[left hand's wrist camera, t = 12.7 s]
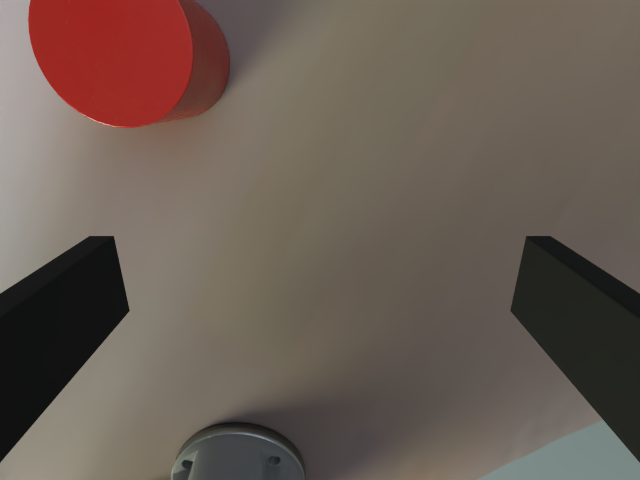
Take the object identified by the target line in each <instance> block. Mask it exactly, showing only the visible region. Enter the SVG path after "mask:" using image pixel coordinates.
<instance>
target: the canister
mask: <svg viewBox="0 0 640 480" xmlns="http://www.w3.org/2000/svg"><path fill="white" fill-rule="evenodd" d="M28 22H29V34H30V40H31V45H32V48H33V52H34V55H35V57H36V60H37V62H38V65H39V67H40V69H41V70H42V72H43V74H44V76H45V78H46V79H47V81H48V82H49V83H50V85H51V86H52V88H53V89H54V90H55V91H56V92H57V94H58V95H59V96H60V97H61V98H62V99H63V100H64V101H65V102H66V103H67V104H69V105H70V106H71V107H72V108H74V109H75V110H76V111H78V112H79V113H81V114H83V115H84V116H86V117H88V118H90V119H92V120H94V121H96V122H99V123H102V124H105V125H109V126H114V127H122V128H132V127H140V126H145V125H151V124H156V123H161V122H167V121H172V120H177V119H183V118H188V117H193V116H196V115H199V114H201V113H203V112H205V111H206V110H208V109H209V108H210V107H212V106H213V105H214V104H215V103H216V102H217V100H218V99H219V98H220V96H221V95H222V93H223V91H224V89H225V86H226V84H227V81H228V76H229V69H230V58H229V51H228V47H227V43H226V40H225V37H224V35H223V33H222V31H221V29H220V27H219V25H218V24H217V22H216V21H215V19H214V18H213V17H212V16H211V15H210V13H208V12H207V11H206V10H205V9H204V8H203V7H202V6H201V5H199V4H198V3H197V2H195V1H194V0H31V1H30V6H29V17H28Z"/></svg>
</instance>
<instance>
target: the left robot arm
mask: <svg viewBox="0 0 640 480" xmlns="http://www.w3.org/2000/svg"><path fill="white" fill-rule="evenodd" d="M129 311H130V310H129V306H128V301H127V296H126V292H125V287H124V282H123V278H122V273H121V268H120V264H119V259H118V254H117V250H116V245H115V240H114V236H89V237H88V238H86V239H84V240H83V241H81V242H80V243H78V244H77V245H75V246H74V247H72V248H70V249H69V250H67V251H66V252H64V253H63V254H61V255H60V256H58V257H57V258H55V259H53V260H52V261H50V262H49V263H47V264H46V265H44V266H43V267H41V268H39V269H38V270H36V271H35V272H33V273H32V274H30V275H29V276H27V277H26V278H24V279H22V280H21V281H19V282H18V283H16V284H15V285H13V286H12V287H10V288H8V289H7V290H5V291H4V292H2V293H1V294H0V462H1V461H2V460H3V459H4V457H5V456H6V455H7V454H8V453H9V452H10V450H11V449H12V448H13V447H14V446H15V445H16V443H17V442H18V441H19V440H20V439H21V437H22V436H23V435H24V434H25V433H26V432H27V430H28V429H29V428H30V427H31V426H32V425H33V423H34V422H35V421H36V420H37V419H38V418H39V416H40V415H41V414H42V413H43V412H44V411H45V409H46V408H47V407H48V406H49V405H50V404H51V402H52V401H53V400H54V399H55V398H56V396H57V395H58V394H59V393H60V392H61V391H62V389H63V388H64V387H65V386H66V385H67V384H68V382H69V381H70V380H71V379H72V378H73V377H74V375H75V374H76V373H77V372H78V371H79V370H80V368H81V367H82V366H83V365H84V364H85V362H86V361H87V360H88V359H89V358H90V357H91V355H92V354H93V353H94V352H95V351H96V350H97V348H98V347H99V346H100V345H101V344H102V343H103V341H104V340H105V339H106V338H107V337H108V336H109V334H110V333H111V332H112V331H113V330H114V328H115V327H116V326H117V325H118V324H119V323H120V321H121V320H122V319H123V318H124V317H125V316H126V314H127V313H128V312H129ZM510 311H511V312H512V313H513V314H514V316H515V317H516V318H517V319H518V320H519V321H520V323H521V324H522V325H523V326H524V327H525V328H526V330H527V331H528V332H529V333H530V334H531V336H532V337H533V338H534V339H535V340H536V341H537V343H538V344H539V345H540V346H541V347H542V348H543V350H544V351H545V352H546V353H547V354H548V355H549V357H550V358H551V359H552V360H553V361H554V362H555V364H556V365H557V366H558V367H559V368H560V370H561V371H562V372H563V373H564V374H565V375H566V377H567V378H568V379H569V380H570V381H571V382H572V384H573V385H574V386H575V387H576V388H577V389H578V391H579V392H580V393H581V394H582V395H583V396H584V398H585V399H586V400H587V401H588V402H589V404H590V405H591V406H592V407H593V408H594V409H595V411H596V412H597V413H598V414H599V415H600V416H601V418H602V419H603V420H604V421H605V422H606V423H607V425H608V426H609V427H610V428H611V429H612V430H613V432H614V433H615V434H616V435H617V436H618V437H619V439H620V440H621V441H622V442H623V443H624V445H625V446H626V447H627V448H628V449H629V450H630V452H631V453H632V454H633V455H634V456H635V457H636V459H637V460H638V461H639V462H640V294H639V293H638V292H636V291H635V290H633V289H632V288H630V287H628V286H627V285H625V284H624V283H622V282H621V281H619V280H618V279H616V278H614V277H613V276H611V275H610V274H608V273H607V272H605V271H604V270H602V269H601V268H599V267H597V266H596V265H594V264H593V263H591V262H590V261H588V260H587V259H585V258H583V257H582V256H580V255H579V254H577V253H576V252H574V251H573V250H571V249H570V248H568V247H566V246H565V245H563V244H562V243H560V242H559V241H557V240H556V239H554V238H552V237H551V236H526V240H525V245H524V250H523V254H522V259H521V264H520V268H519V273H518V278H517V282H516V287H515V292H514V296H513V301H512V306H511V310H510ZM171 480H305V466H304V462H303V459H302V457H301V455H300V453H299V452H298V450H297V449H296V448H295V447H294V446H293V444H292V443H290V442H289V441H288V440H287V439H286V438H284V437H283V436H281V435H280V434H278V433H276V432H274V431H272V430H269V429H267V428H264V427H260V426H256V425H252V424H243V423H230V424H221V425H217V426H213V427H210V428H207V429H204V430H202V431H200V432H198V433H197V434H195V435H194V436H192V437H191V438H190V439H189V440H187V441H186V443H185V444H184V445H183V446H182V448H181V449H180V451H179V453H178V456H177V458H176V461H175V463H174V466H173V469H172V475H171Z"/></svg>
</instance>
